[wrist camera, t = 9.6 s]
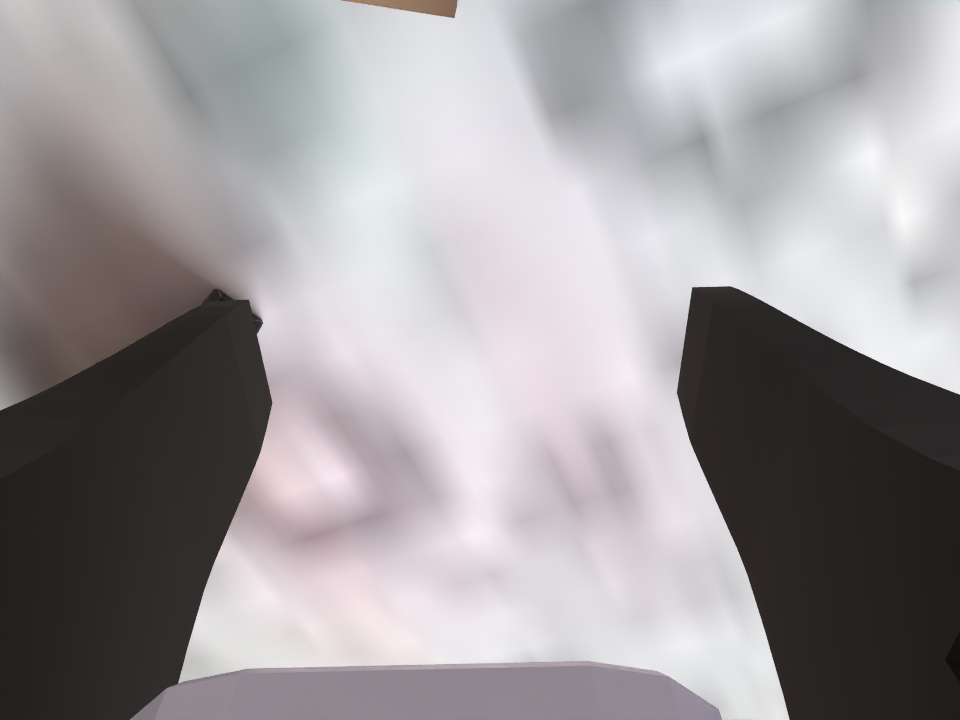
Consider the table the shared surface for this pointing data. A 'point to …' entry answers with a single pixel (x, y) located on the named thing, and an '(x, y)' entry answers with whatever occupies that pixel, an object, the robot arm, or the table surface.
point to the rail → (417, 6)
